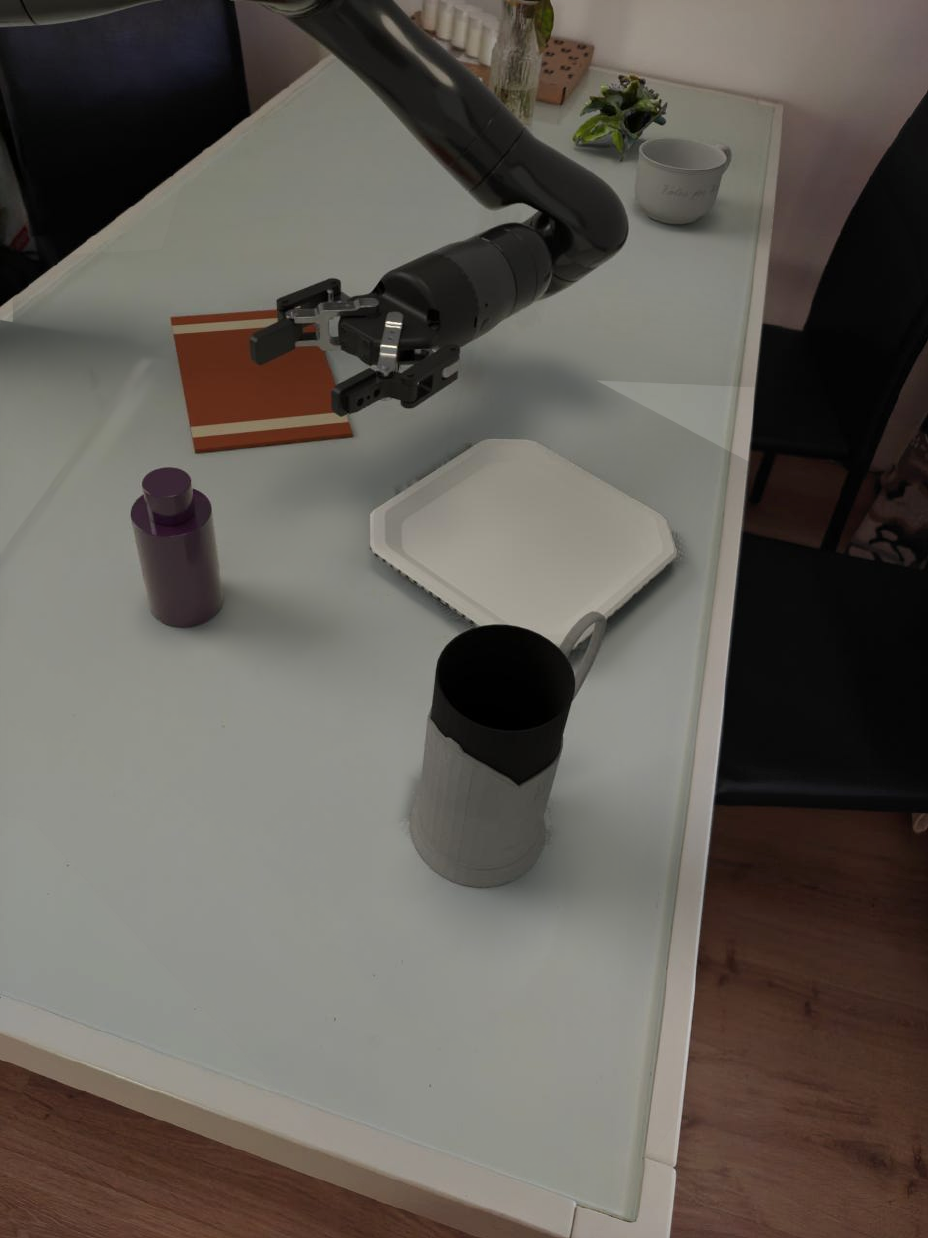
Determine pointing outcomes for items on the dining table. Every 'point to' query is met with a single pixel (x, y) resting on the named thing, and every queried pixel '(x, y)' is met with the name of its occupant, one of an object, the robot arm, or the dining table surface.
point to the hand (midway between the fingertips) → (293, 377)
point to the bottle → (177, 549)
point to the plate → (521, 539)
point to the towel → (251, 385)
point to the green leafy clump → (621, 113)
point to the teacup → (679, 177)
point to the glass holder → (495, 749)
